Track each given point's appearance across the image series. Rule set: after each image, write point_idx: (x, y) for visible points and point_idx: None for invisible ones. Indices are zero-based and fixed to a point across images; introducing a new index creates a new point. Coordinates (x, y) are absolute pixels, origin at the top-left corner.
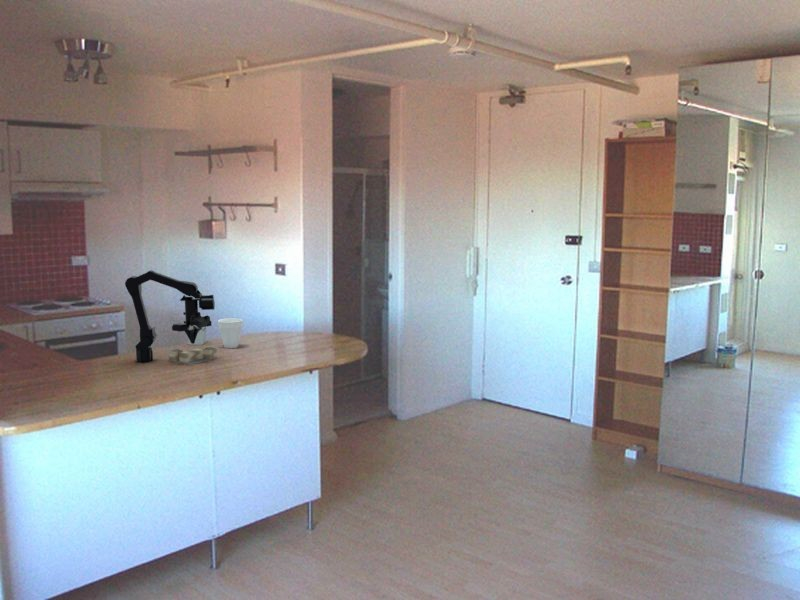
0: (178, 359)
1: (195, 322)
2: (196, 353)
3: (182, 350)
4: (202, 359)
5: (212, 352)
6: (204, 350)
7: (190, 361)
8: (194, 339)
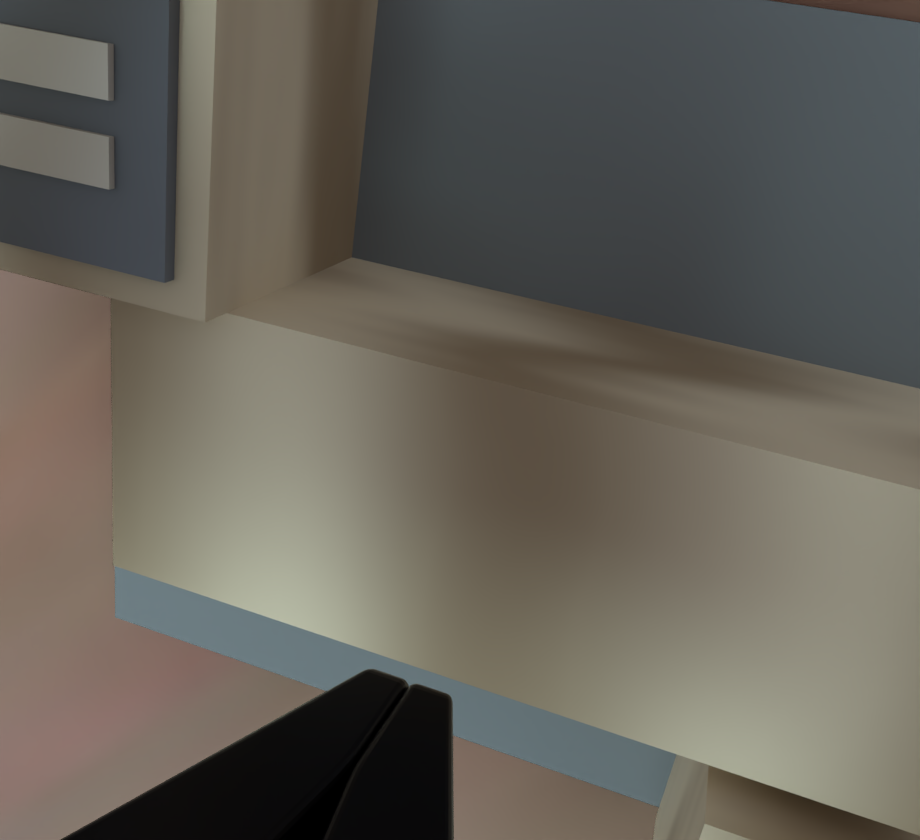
0: None
1: None
2: (542, 367)
3: (727, 836)
4: (471, 193)
5: None
6: (234, 248)
7: (831, 359)
8: (292, 786)
